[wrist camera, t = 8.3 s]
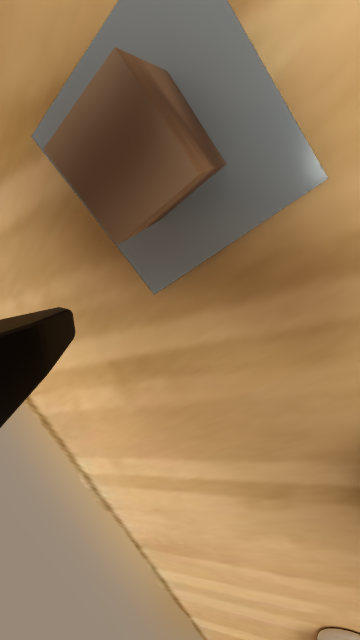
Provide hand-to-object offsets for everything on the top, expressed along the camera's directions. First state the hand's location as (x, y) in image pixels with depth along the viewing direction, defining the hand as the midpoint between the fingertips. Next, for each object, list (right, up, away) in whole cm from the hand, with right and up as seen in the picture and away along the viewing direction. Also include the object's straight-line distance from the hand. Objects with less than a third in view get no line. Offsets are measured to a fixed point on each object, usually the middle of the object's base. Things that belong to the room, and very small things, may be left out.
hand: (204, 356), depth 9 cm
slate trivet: (-1, +10, +8) cm, 13 cm away
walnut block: (-2, +10, +8) cm, 13 cm away
